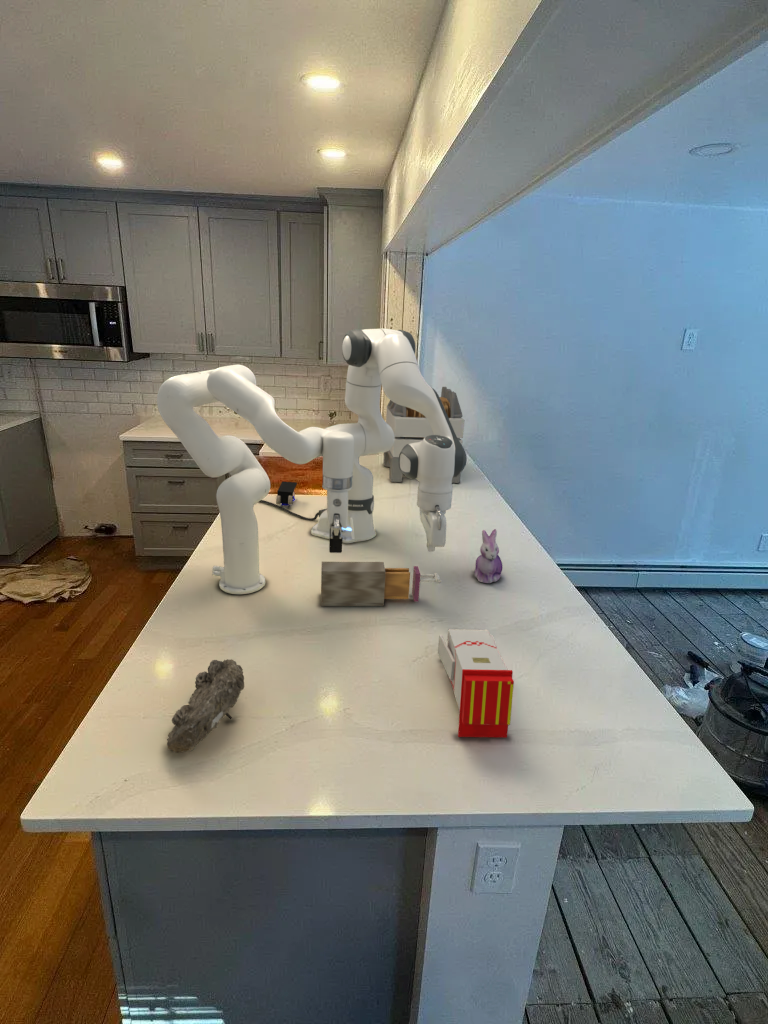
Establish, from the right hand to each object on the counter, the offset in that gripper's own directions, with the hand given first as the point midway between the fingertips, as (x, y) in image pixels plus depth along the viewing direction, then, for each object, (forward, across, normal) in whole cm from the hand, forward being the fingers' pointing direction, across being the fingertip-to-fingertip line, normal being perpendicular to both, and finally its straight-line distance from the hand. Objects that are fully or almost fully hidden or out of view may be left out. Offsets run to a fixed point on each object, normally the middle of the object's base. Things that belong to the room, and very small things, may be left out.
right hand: (430, 549), depth 150 cm
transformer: (+15, +126, -16) cm, 128 cm away
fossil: (+15, -46, +48) cm, 68 cm away
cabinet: (+15, 0, +20) cm, 25 cm away
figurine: (+15, +14, -21) cm, 29 cm away
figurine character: (+15, +78, +44) cm, 91 cm away
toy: (+15, -39, -3) cm, 42 cm away
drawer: (+14, 0, +8) cm, 16 cm away
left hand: (-1, 0, +25) cm, 25 cm away
